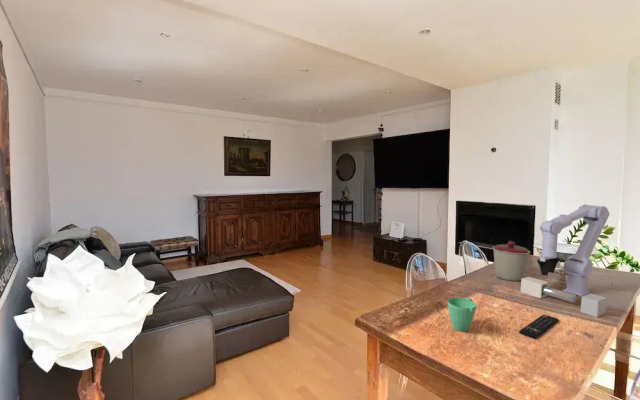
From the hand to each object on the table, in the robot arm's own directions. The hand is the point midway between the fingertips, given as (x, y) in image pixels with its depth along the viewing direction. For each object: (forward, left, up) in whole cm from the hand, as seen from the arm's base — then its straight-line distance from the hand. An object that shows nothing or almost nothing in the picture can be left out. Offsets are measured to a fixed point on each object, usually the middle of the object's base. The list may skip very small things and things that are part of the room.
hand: (547, 273), depth 151 cm
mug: (+65, +2, -11) cm, 66 cm away
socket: (+5, +20, -10) cm, 23 cm away
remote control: (+39, +16, -11) cm, 44 cm away
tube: (+5, +2, -9) cm, 10 cm away
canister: (-8, -23, -11) cm, 26 cm away
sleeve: (+5, -3, -10) cm, 12 cm away
